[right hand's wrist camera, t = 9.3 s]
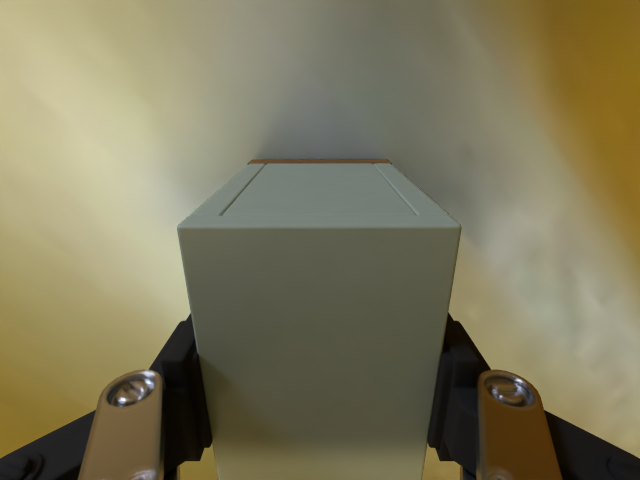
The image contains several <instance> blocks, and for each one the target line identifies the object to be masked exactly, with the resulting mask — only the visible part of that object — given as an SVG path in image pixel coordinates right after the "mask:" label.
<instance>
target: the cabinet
mask: <svg viewBox="0 0 640 480" xmlns="http://www.w3.org/2000/svg"><path fill="white" fill-rule="evenodd" d="M177 231H178V237H179V243H180V249H181V255H182V261H183V267H184V273H185V280H186V286H187V292H188V298H189V304H190V310H191V316H192V322H193V328H194V334H195V340H196V346H197V352H198V355H199V361H200V367H201V373H202V380H203V386H204V392H205V398H206V404H207V411H208V417H209V423H210V429H211V435H212V443H213V450H214V456H215V462H216V468H217V474H218V480H422V474H423V468H424V461H425V455H426V449H427V442H428V441H427V440H428V433H429V427H430V421H431V415H432V409H433V402H434V396H435V390H436V384H437V377H438V371H439V365H440V359H441V353H442V348H443V341H444V335H445V329H446V322H447V316H448V310H449V304H450V297H451V291H452V285H453V278H454V272H455V266H456V259H457V253H458V247H459V240H460V234H461V225H460V224H459V223H458V222H457V221H456V220H455V219H453V218H452V217H451V216H449V214H448V213H447V212H446V211H445V210H444V209H443V208H441V207H440V206H439V205H438V204H437V203H436V202H434V201H433V200H432V199H431V198H430V197H429V196H427V195H426V194H425V193H424V192H423V191H422V190H421V189H419V188H418V187H417V186H416V185H415V184H414V183H412V182H411V181H410V180H409V179H408V178H407V177H405V176H404V175H403V174H402V173H401V172H400V171H399V170H397V169H396V168H395V167H394V166H393V165H392V163H391V162H389V161H388V160H387V159H335V160H251V161H250V162H249V163H248V165H247V166H246V167H245V168H244V169H242V170H241V171H240V172H239V173H238V174H237V175H236V176H234V177H233V178H232V179H231V180H230V181H229V182H227V183H226V184H225V185H224V186H223V187H222V188H220V189H219V190H218V191H217V192H216V193H215V194H214V195H212V196H211V197H210V198H209V199H208V200H207V201H205V202H204V203H203V204H202V205H201V206H200V207H199V208H197V209H196V210H195V211H194V212H193V213H192V214H191V215H190V216H189V217H187V218H186V219H185V220H183V221H182V222H181V223H180V224H179V225H178V227H177Z"/></svg>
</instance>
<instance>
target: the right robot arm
mask: <svg viewBox="0 0 640 480" xmlns="http://www.w3.org/2000/svg"><path fill="white" fill-rule="evenodd" d="M427 441H428V444H429V446H430V447H431V448H436V451H437V454H438V457H439V460H440V461H455V462H457V463H458V464H459V465H461V466H460V480H640V459H639V458H637V457H636V456H634V455H632V454H630V453H628V452H626V451H624V450H622V449H620V448H618V447H616V446H614V445H612V444H610V443H608V442H606V441H604V440H603V439H601V438H599V437H597V436H595V435H593V434H591V433H589V432H587V431H585V430H583V429H581V428H579V427H577V426H575V425H573V424H571V423H569V422H567V421H565V420H563V419H561V418H559V417H557V416H555V415H553V414H551V413H549V412H547V411H545V410H544V408H543V405H542V401H541V397H540V395H539V393H538V391H537V390H536V389H535V387H534V386H533V385H532V384H531V383H529V382H528V381H527V380H525V379H524V378H522V377H520V376H518V375H516V374H514V373H511V372H508V371H503V370H491V369H490V367H489V366H488V364H487V363H486V361H485V360H484V358H483V357H482V355H481V354H480V352H479V350H478V349H477V347H476V346H475V344H474V343H473V341H472V340H471V338H470V337H469V335H468V334H467V332H466V331H465V329H464V328H463V326H462V325H461V323H460V322H459V321H454V320H453V319H452V317H451V316H450V314H449V312H448V316H447V322H446V329H445V335H444V341H443V348H442V353H441V359H440V365H439V371H438V377H437V384H436V390H435V396H434V402H433V409H432V415H431V421H430V427H429V433H428V440H427ZM211 444H212V435H211V429H210V423H209V417H208V411H207V404H206V398H205V392H204V386H203V380H202V373H201V367H200V361H199V355H198V352H197V346H196V340H195V334H194V328H193V322H192V316H191V313H190V315H189V317H188V318H187V320H186V321H181V322H180V323H179V324H178V326H177V327H176V329H175V330H174V332H173V333H172V335H171V336H170V338H169V339H168V341H167V342H166V344H165V345H164V347H163V349H162V350H161V352H160V353H159V355H158V356H157V358H156V359H155V361H154V362H153V364H152V365H151V367H150V368H149V370H137V371H132V372H129V373H126V374H124V375H122V376H120V377H118V378H116V379H115V380H113V381H112V382H111V383H109V384H108V385H107V386H106V387H105V389H104V390H103V391H102V393H101V395H100V397H99V401H98V405H97V408H96V410H95V411H93V412H91V413H89V414H87V415H85V416H83V417H81V418H79V419H77V420H75V421H73V422H71V423H69V424H67V425H65V426H63V427H61V428H59V429H57V430H55V431H53V432H51V433H49V434H47V435H45V436H43V437H41V438H39V439H37V440H35V441H33V442H31V443H29V444H27V445H25V446H23V447H21V448H20V449H18V450H16V451H14V452H12V453H10V454H8V455H6V456H4V457H2V458H1V459H0V480H180V466H179V465H180V464H182V463H183V462H185V461H200V459H201V456H202V453H203V450H204V448H209V447H210V446H211Z"/></svg>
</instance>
